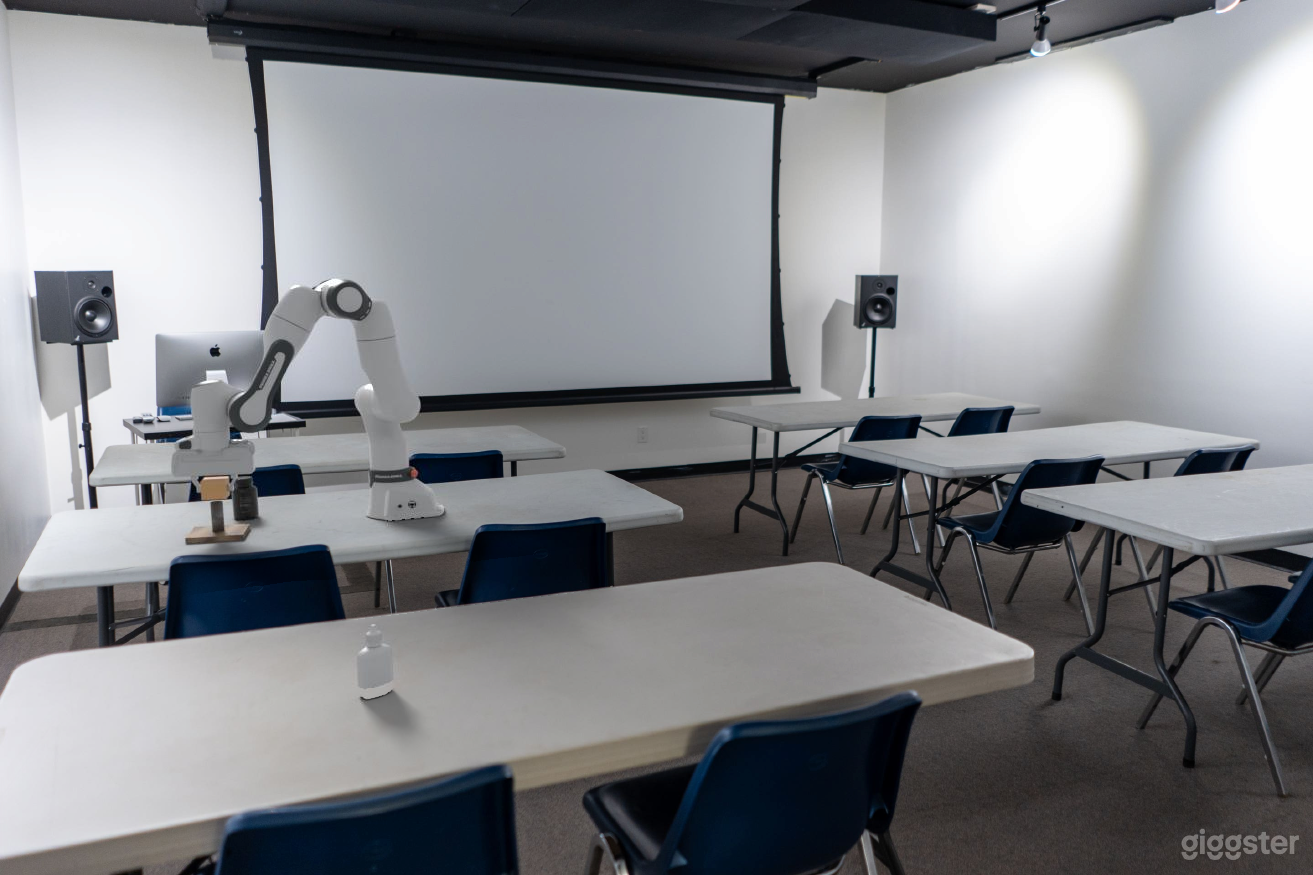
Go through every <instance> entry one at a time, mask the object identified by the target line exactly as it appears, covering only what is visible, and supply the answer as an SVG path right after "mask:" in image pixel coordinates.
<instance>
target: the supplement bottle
mask: <svg viewBox="0 0 1313 875" xmlns="http://www.w3.org/2000/svg"><path fill="white" fill-rule="evenodd" d="M253 484H254V481H253V476H251V475H250V476H248V475H247V476H246V475H245V476H238V477H237V479H236V481H235V483H234V491H231V502H232V512H233V519H235V521H236V520H238V521H247V520H254V519H258V517H259V515H260V511H259V500H258V499H259V498H258V496H259V495H258V487H256V485H253Z"/></svg>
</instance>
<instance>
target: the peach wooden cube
mask: <svg viewBox="0 0 1313 875" xmlns="http://www.w3.org/2000/svg"><path fill="white" fill-rule="evenodd" d="M199 484H200V485H201V492H200V496H201V497H200V498H201V501H218V500H228V497H229V496H230V495H231V491H227V485H228V484H230V475H224V476H204V477H203V478H202V479H201V481H200V482H199Z"/></svg>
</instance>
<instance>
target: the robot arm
mask: <svg viewBox="0 0 1313 875" xmlns="http://www.w3.org/2000/svg"><path fill="white" fill-rule="evenodd" d="M326 316H327V317H329V318H330V317H331V318H335V319H344V320H345V319H346V320H349V321H350V322H351V324H352V327H353V328H354V334H355V340H356V346H357V351H358V352H357V353H358V359H359V363H360V367H361V369H362V371H363V372H364V373H365V375H366V377H367V378H368V380H369V383H367V384H364V385H362V386H361V387H359V389H357V391H356V393H355V395H354V405H355V408H356V410H357V411H358V412H359V414H360V416H361V419H362V422H363V426H364V429H365V432H366V433H365V434H366V436H367V443H368V449H369V450H368V452H369V469H368V473H367V474H368V486H369V491H370V492H369V501H368V507H367V511H366V516H367V517H369V518H372V519H378V520H384V521H387V520H388V522H393V521H392V520H395V521H401V520H402V519H405V520H411V518H414V519H422V518H421V517H424V518H430V517H431V518H432V517H439V516H441V515H443V514H444V513H445V507H444V505H443V504H440V503H438V502H437V497H436V494H435V492H434V490H433V489H432V488H431V487H430V486H428V485H427V484H425V483H424V482H422V481H421V480H419V479H418V478H417V476H418V474H419V471H418V470H417V469H416V468H415V467H413V466H411V465H410V462H409V440H408V439H407V437H406V435H405V434H404V432H403V430H402V427H401V424H403V423H404V424H405V423H409V422H412V421H413V420H415V419H416V417H417V416H418V415H419V413H420V410H421V400H420V398H419V396H418V394H417V393H416V392H415V391H414V390H413V388H412V387H411V385H410V383H409V380H408V377H407V376H406V373H405V370H404V368H403V365H402V363H401V358H400V353H399V347H398V340H397V335H396V330H395V326H394V322H393V317H392V314H391V311H390V310H389V307H388V305H387V303H386V302H384V301H382V300H380V299H377V298H370V297H369V295H368V294H367V292H366V291H365V290H364V289H363V287H362V286H361V285H360V284H358V283H357V282H356V281H354V280H351V279H346V278H339V277H337V278H331V279H327V280H324V281H321V282H319V283H318V284H317V285H315V286H313V287H309V286H307V285H304V284H302V285H301V284H300V285H299V284H296V285H293V286H291V287H289V288H288V289H287V291H286V292H285V293H284V295H283V296H282V297H281V298H280V300H279V301H278V303H277V304H276V305H275V307H274V309H273V310H272V313H271V314H270V316H269V318H268V320H267V323H266V325H265V329H264V331H263V335H262V343H263V357H262V361H261V364H260V366H259V368H258V369H257V372H256V373H255V375H254V377H253V380H252V381H251V384H250V385H249V387H248V389H242V388H238V387H236V386H235V385H234V386H233V385H231V384H229V383H227V382H225V381H224V380H223V379H217V378H216V379H208V380H203V381H201V382H198V383H197V384H195V385H194V386H193V387H192V388H191V391H190V392H191V393H190V411H191V416H192V420H193V427H192V435H188V436H186V437H183V438H180V439H178V440H176V441H175V443H173V444H174V445H173V446H174V450H175V451H174V452H173V453H172V456H171V462H170V464H171V465H170V468H171V469H170V473H171V475H172V476H173V477H175V478H186V477H190V481H191V482H192V484H193V485H194V487H196V493H198V494H199V493H200V494H201V485H200V482H199V481H198V479H199V477H214V476H230V479H232V480H231V482H230V483H229V484H228V485H227V491H230V492H232V491H234V487H235V481H236V479H237V477H239V476H238V475H250V474H253V472H255V471H256V462H255V456H254V455H255V452H256V450H255V449H256V448H255V444H254V442H252V441H251V440H249V439H231V435H230V434H231V432H230V426H233V427H234V428H235V429H237V430H238V431H240V432H241V433H242V432H243V433H246V434H254V433H258V432H260V431H262V430H264V429H265V428H267V426H268V425H269V423H270V422H271V419H272V414H273V413H272V412H273V411H272V410H273V409H272V408H273V400H274V397H275V395H276V393H277V390H278V389H279V386H280V384H281V382H282V380H283V378H284V376H285V375H286V373H287V370H288V368H289V366H290V365H291V364H292V362H293V361H294V359H295V358H296V356H297V355H298V354H299V352H300V351H301V350H302V349H303V347H304V345H305V344H306V342H307V340H309V337H310V335H311V333H312V331H313V329H314V327H315V325H316V324H317V323H318V321H319V320H320V319H321V318H322V317H326ZM402 521H403V520H402Z"/></svg>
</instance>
